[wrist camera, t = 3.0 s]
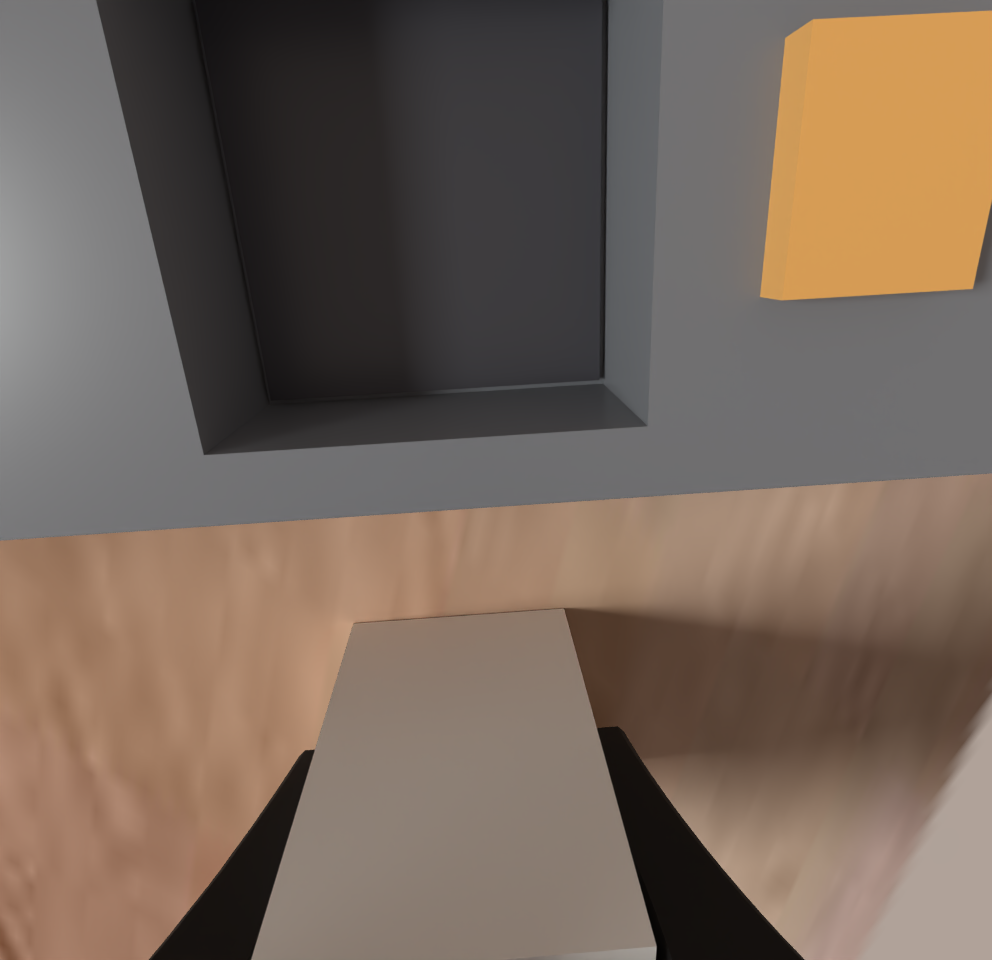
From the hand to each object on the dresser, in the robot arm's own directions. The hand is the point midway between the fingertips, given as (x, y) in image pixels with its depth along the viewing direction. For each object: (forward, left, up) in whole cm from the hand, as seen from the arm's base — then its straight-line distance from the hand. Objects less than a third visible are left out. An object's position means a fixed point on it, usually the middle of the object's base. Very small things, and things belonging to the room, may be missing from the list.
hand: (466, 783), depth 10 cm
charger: (0, 0, -2) cm, 2 cm away
